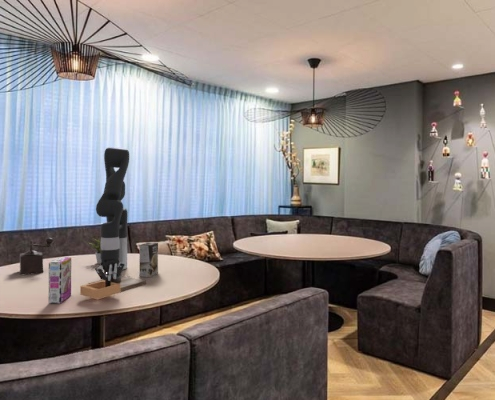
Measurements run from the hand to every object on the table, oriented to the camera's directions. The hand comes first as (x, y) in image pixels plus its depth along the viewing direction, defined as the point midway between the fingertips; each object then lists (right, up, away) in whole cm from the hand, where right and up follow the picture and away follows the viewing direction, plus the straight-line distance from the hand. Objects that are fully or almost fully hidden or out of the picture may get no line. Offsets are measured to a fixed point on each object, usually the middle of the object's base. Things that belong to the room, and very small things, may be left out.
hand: (110, 288), depth 160 cm
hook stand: (-3, -2, +16) cm, 17 cm away
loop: (-3, -1, -4) cm, 5 cm away
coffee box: (+7, -2, +36) cm, 37 cm away
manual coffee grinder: (-53, -1, +41) cm, 67 cm away
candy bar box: (-18, -3, -6) cm, 19 cm away
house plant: (-27, 0, +64) cm, 70 cm away
